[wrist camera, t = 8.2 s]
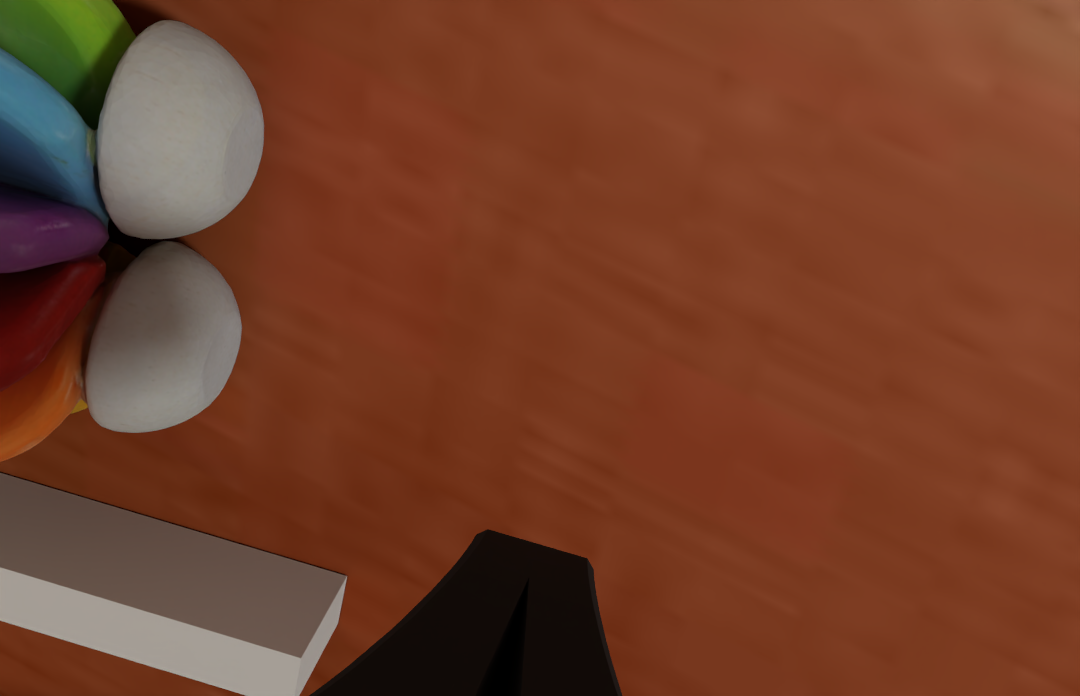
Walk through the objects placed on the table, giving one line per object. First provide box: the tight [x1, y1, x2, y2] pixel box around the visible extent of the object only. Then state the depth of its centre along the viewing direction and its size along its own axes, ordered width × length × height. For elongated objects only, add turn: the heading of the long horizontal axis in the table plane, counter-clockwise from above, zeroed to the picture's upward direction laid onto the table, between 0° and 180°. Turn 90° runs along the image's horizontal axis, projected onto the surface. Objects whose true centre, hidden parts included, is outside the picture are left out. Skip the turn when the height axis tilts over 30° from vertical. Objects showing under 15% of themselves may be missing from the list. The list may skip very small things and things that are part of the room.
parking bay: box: [0, 473, 347, 696], centre depth 19 cm, size 19×14×3 cm
